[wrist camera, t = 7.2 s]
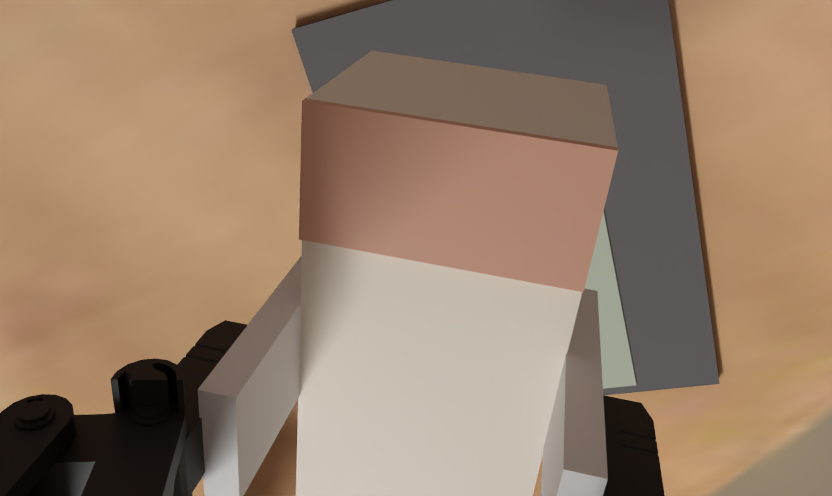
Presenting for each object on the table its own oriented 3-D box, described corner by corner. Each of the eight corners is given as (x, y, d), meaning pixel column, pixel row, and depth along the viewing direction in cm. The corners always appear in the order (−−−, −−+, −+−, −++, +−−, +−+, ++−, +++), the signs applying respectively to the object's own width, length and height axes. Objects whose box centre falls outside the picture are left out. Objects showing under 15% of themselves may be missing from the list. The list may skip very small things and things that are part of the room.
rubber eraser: (524, 449, 23) (511, 586, 18) (347, 410, 23) (292, 532, 19) (606, 84, 17) (618, 151, 13) (371, 50, 18) (302, 100, 13)
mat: (294, 28, 32) (290, 29, 32) (656, -77, 27) (658, -77, 27) (423, 408, 40) (421, 414, 40) (717, 378, 36) (719, 384, 35)
